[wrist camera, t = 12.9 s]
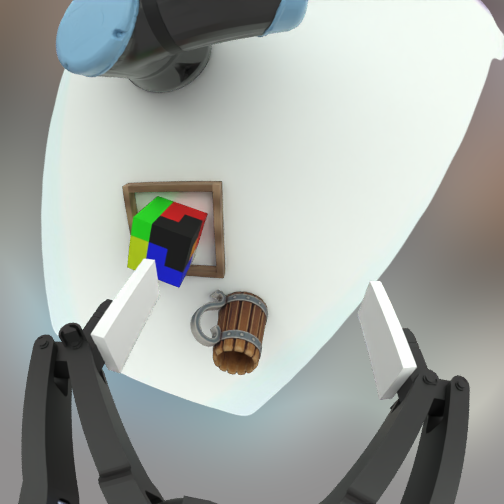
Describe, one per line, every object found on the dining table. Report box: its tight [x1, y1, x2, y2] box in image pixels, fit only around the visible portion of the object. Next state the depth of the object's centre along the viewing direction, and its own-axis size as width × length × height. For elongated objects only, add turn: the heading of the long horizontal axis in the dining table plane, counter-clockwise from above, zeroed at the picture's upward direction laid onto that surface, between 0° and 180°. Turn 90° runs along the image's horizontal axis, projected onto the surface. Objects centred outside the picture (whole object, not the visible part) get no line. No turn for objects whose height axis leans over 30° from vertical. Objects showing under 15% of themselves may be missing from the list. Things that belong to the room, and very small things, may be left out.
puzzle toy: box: [127, 196, 207, 287], centre depth 46 cm, size 10×10×10 cm
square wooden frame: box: [122, 181, 225, 278], centre depth 49 cm, size 18×18×2 cm
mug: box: [191, 290, 268, 375], centre depth 52 cm, size 16×11×15 cm
